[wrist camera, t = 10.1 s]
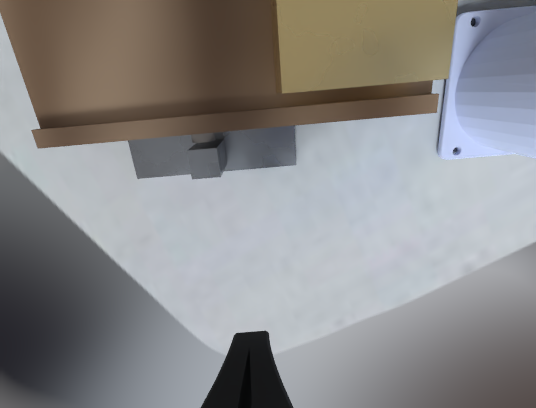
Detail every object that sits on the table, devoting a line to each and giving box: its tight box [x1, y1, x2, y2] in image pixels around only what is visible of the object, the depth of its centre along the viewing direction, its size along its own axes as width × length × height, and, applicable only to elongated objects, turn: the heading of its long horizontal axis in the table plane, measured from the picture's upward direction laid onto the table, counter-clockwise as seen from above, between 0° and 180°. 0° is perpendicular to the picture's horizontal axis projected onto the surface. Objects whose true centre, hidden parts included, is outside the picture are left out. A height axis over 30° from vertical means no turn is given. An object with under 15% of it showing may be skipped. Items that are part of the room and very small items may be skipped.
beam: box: [0, 0, 439, 148], centre depth 13 cm, size 18×8×3 cm, turn 95°
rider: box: [270, 0, 458, 94], centre depth 11 cm, size 6×4×3 cm
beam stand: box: [128, 125, 296, 179], centre depth 15 cm, size 10×13×4 cm
